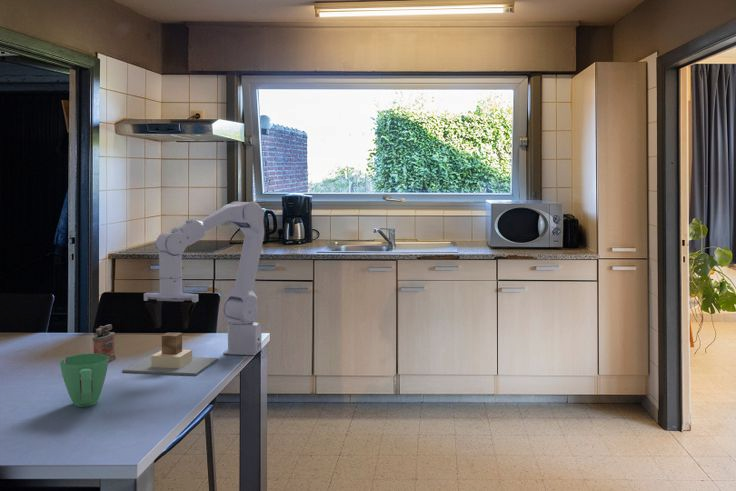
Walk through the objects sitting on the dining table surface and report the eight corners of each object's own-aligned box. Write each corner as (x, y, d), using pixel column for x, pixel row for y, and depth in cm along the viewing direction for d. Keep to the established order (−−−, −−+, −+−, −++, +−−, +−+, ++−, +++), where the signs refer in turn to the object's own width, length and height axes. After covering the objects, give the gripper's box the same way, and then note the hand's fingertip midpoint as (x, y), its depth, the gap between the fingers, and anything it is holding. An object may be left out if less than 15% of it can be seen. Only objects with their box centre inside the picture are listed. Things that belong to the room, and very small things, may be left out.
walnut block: (182, 351, 180) (182, 333, 180) (176, 354, 176) (175, 336, 176) (168, 350, 181) (167, 332, 180) (161, 354, 177) (161, 335, 176)
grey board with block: (218, 360, 185) (218, 347, 185) (196, 375, 169) (195, 361, 169) (150, 357, 188) (150, 344, 188) (122, 372, 172) (122, 358, 172)
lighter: (101, 366, 178) (100, 329, 177) (90, 365, 179) (89, 328, 178) (118, 358, 186) (117, 323, 185) (107, 358, 187) (106, 322, 186)
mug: (60, 399, 149) (59, 356, 148) (107, 394, 153) (106, 351, 152) (62, 420, 136) (60, 372, 135) (113, 413, 140) (112, 367, 139)
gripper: (137, 278, 174) (139, 329, 175) (190, 280, 172) (191, 331, 173) (150, 275, 181) (151, 324, 182) (201, 276, 179) (201, 326, 180)
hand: (171, 327), depth 178 cm, fingers open, 7 cm apart
